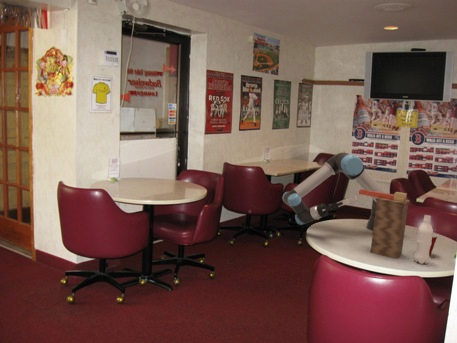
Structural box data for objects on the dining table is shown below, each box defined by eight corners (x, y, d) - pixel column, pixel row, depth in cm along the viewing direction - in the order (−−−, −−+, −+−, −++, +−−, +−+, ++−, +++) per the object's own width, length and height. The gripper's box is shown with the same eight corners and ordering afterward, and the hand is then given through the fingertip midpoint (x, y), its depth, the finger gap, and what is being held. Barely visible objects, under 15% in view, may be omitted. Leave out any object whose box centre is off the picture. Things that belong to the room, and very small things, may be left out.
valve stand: (369, 252, 248) (375, 198, 244) (375, 247, 257) (381, 195, 253) (397, 259, 240) (404, 203, 235) (402, 254, 249) (409, 200, 244)
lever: (358, 194, 252) (359, 187, 251) (361, 193, 256) (362, 186, 255) (403, 202, 239) (404, 194, 238) (405, 200, 243) (406, 193, 242)
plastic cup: (431, 252, 256) (434, 231, 254) (438, 259, 245) (441, 237, 243) (411, 250, 257) (414, 229, 255) (417, 256, 246) (420, 235, 244)
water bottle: (419, 264, 233) (425, 217, 229) (410, 260, 240) (417, 213, 236) (431, 264, 235) (438, 217, 231) (423, 260, 242) (429, 214, 238)
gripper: (330, 213, 278) (362, 202, 266) (313, 221, 257) (347, 208, 246) (325, 202, 279) (356, 190, 267) (308, 208, 258) (341, 195, 247)
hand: (352, 199), depth 256 cm, fingers open, 13 cm apart
